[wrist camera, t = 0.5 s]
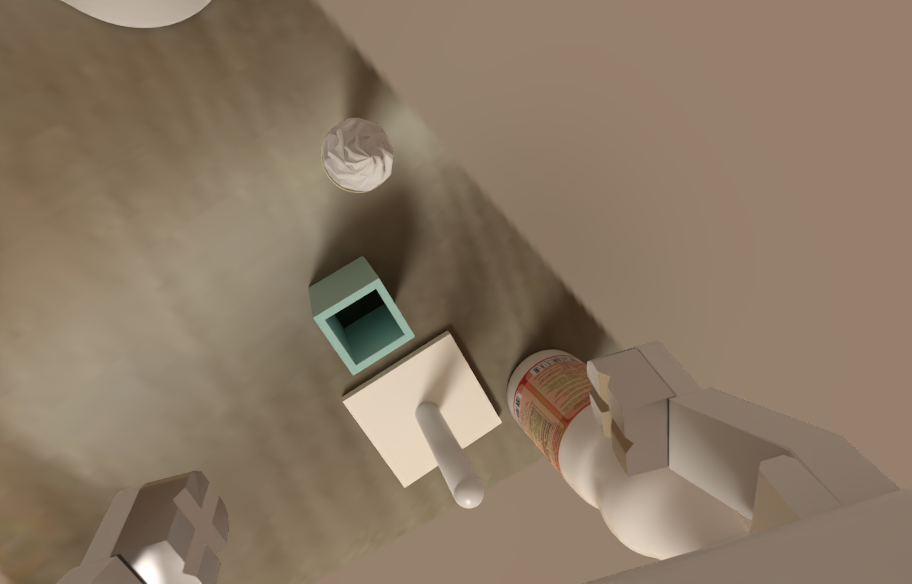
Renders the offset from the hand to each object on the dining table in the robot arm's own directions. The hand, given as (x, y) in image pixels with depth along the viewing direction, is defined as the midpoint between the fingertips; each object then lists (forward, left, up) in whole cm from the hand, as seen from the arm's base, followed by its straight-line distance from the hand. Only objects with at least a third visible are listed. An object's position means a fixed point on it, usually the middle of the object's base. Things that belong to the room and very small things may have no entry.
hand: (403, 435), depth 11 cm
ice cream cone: (-3, +5, -37) cm, 38 cm away
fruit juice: (+28, +11, -38) cm, 48 cm away
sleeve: (+8, -1, -37) cm, 38 cm away
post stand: (+22, -1, -37) cm, 43 cm away
